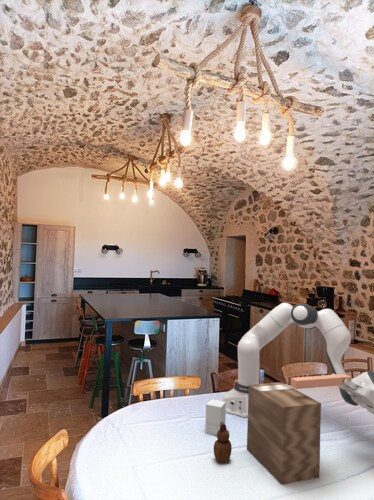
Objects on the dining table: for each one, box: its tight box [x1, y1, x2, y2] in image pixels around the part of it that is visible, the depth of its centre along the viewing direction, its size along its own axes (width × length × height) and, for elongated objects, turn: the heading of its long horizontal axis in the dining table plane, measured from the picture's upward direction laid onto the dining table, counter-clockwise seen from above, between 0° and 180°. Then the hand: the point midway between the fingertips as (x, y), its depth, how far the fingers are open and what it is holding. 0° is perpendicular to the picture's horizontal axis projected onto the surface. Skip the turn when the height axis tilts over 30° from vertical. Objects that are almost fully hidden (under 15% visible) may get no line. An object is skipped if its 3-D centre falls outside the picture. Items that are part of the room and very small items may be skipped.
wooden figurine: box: [213, 422, 233, 463], centre depth 134 cm, size 7×6×15 cm
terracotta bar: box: [290, 374, 352, 390], centre depth 136 cm, size 26×4×3 cm, turn 110°
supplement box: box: [204, 398, 227, 436], centre depth 158 cm, size 7×7×13 cm
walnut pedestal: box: [246, 381, 322, 485], centre depth 135 cm, size 16×24×26 cm, turn 20°
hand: (339, 378), depth 139 cm, fingers closed on terracotta bar, 3 cm apart
